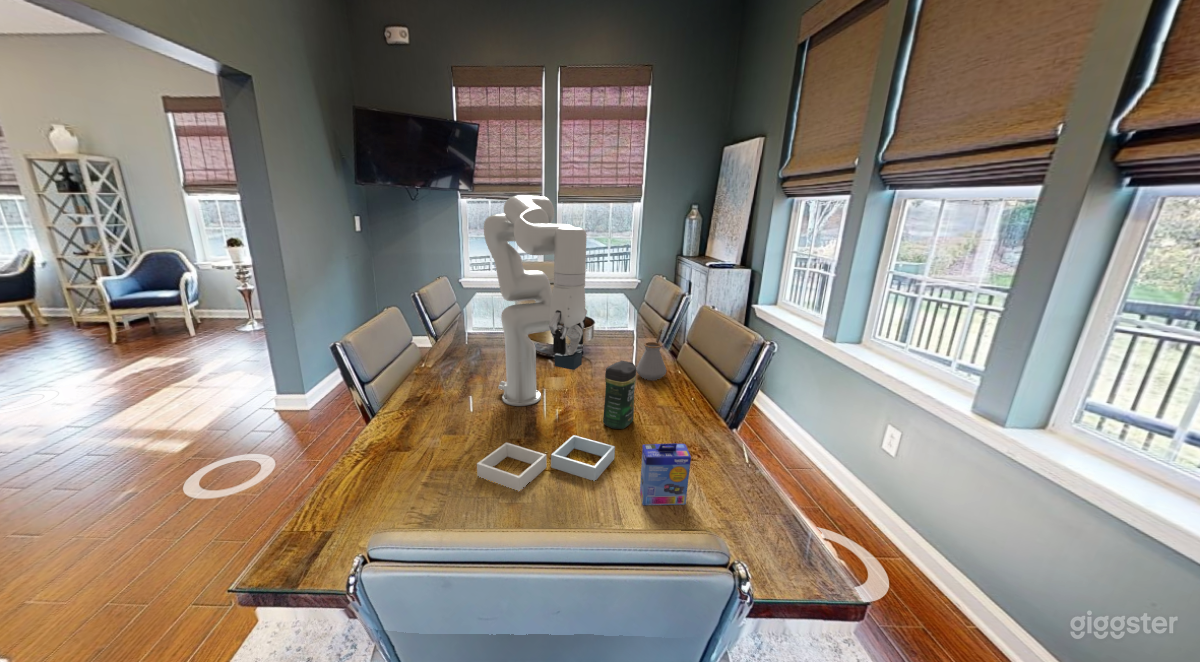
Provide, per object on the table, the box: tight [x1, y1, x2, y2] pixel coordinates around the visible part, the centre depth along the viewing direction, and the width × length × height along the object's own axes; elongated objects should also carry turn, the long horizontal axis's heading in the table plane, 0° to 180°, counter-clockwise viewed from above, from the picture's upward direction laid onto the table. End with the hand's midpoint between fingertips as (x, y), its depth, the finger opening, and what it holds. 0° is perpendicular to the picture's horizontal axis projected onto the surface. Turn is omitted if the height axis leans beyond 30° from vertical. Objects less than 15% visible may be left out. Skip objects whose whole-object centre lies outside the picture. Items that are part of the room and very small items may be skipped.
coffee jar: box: [602, 360, 637, 430], centre depth 130 cm, size 10×8×19 cm
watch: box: [554, 324, 584, 371], centre depth 112 cm, size 6×8×11 cm
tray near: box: [476, 442, 548, 492], centre depth 106 cm, size 12×11×4 cm
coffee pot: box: [636, 329, 667, 381], centre depth 171 cm, size 21×12×15 cm, turn 160°
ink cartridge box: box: [639, 442, 692, 506], centre depth 96 cm, size 10×6×14 cm, turn 95°
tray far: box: [550, 434, 616, 482], centre depth 110 cm, size 12×11×4 cm
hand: (568, 348), depth 112 cm, fingers closed on watch, 8 cm apart
